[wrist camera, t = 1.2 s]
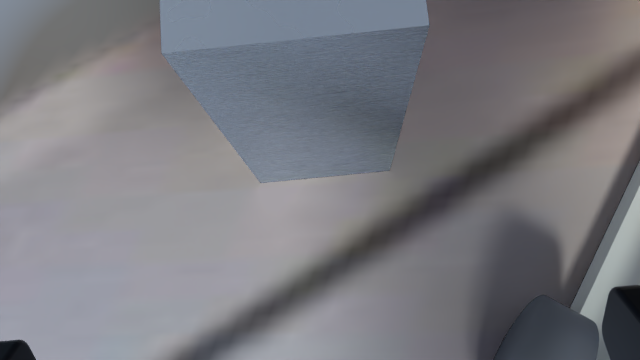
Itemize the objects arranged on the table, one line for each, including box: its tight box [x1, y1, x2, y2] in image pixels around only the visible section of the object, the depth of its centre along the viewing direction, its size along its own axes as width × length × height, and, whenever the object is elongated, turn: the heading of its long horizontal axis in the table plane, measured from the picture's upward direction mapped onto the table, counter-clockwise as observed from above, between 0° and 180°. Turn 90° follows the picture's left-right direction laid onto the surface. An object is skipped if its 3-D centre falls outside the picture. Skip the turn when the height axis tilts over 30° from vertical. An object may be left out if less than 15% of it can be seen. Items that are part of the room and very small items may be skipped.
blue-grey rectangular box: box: [160, 0, 429, 183], centre depth 18 cm, size 5×5×12 cm
